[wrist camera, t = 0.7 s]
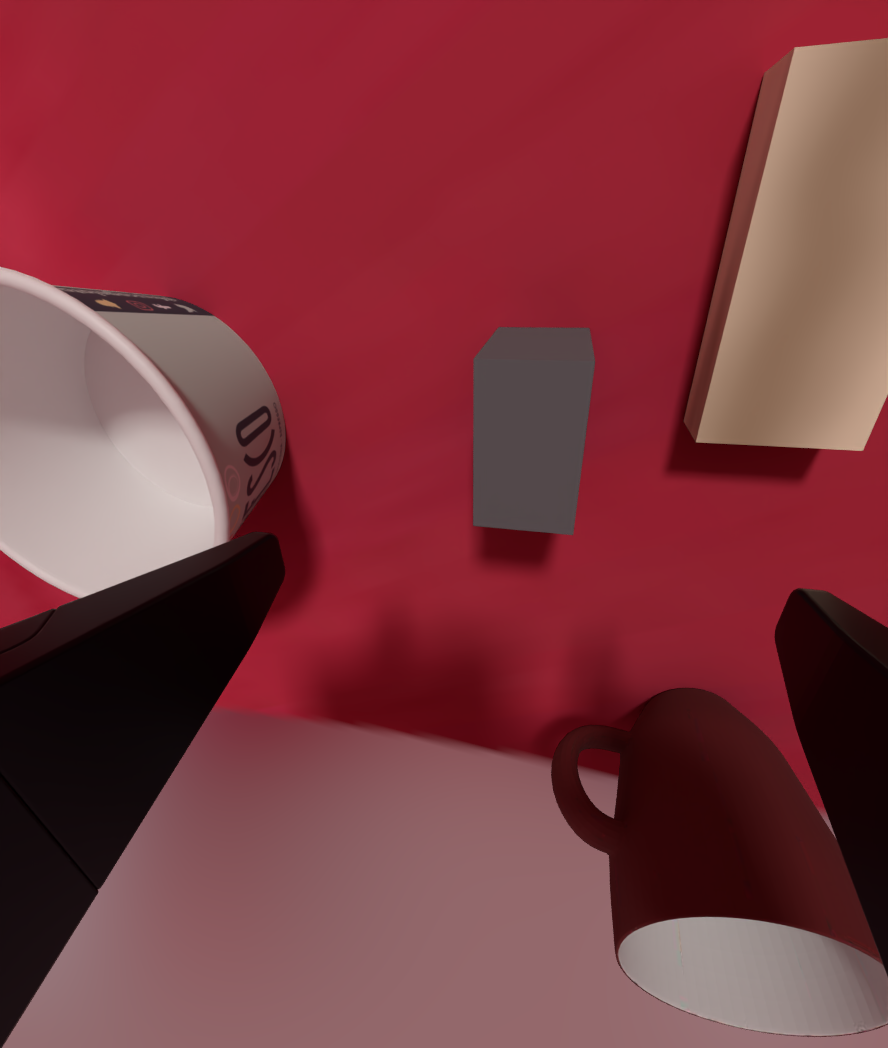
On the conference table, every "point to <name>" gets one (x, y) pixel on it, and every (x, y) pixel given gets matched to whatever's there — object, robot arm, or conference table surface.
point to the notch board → (804, 263)
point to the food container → (125, 432)
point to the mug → (725, 874)
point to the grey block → (530, 427)
